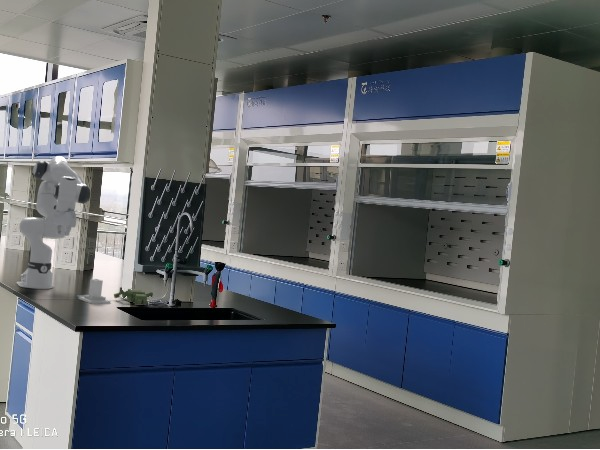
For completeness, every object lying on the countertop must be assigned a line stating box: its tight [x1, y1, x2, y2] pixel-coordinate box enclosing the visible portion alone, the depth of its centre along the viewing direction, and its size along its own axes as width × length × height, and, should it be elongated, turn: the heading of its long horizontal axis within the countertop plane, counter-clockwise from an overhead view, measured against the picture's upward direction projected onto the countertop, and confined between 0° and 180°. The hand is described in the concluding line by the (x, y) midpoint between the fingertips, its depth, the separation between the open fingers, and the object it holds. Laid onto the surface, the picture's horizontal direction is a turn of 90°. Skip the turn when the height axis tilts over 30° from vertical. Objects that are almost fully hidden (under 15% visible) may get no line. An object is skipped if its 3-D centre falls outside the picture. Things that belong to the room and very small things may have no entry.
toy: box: [113, 286, 154, 305], centre depth 371 cm, size 21×8×30 cm
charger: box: [88, 278, 104, 297], centre depth 358 cm, size 4×4×10 cm
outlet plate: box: [78, 294, 111, 304], centre depth 358 cm, size 14×11×3 cm
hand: (62, 234), depth 351 cm, fingers open, 8 cm apart
